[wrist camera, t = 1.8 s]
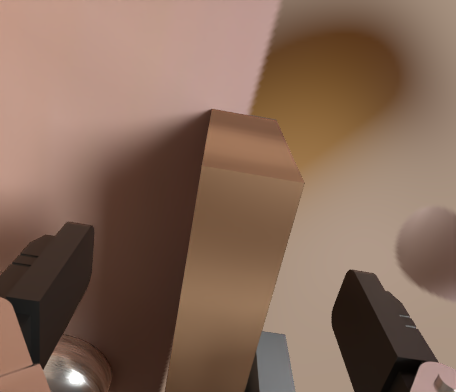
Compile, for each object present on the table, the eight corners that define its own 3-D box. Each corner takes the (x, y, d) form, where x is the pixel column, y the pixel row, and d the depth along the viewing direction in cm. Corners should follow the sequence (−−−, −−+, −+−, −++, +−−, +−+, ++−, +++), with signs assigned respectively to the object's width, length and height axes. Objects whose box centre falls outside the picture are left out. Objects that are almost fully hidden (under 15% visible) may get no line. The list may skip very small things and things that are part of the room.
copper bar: (212, 107, 14) (201, 165, 9) (276, 119, 14) (304, 182, 9) (159, 424, 22) (136, 561, 16) (202, 429, 22) (193, 566, 16)
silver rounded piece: (8, 325, 19) (-16, 358, 17) (112, 337, 19) (99, 371, 17) (18, 397, 21) (-3, 434, 19) (112, 407, 21) (100, 444, 19)
